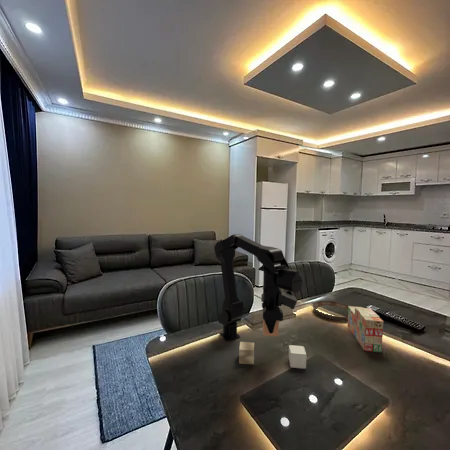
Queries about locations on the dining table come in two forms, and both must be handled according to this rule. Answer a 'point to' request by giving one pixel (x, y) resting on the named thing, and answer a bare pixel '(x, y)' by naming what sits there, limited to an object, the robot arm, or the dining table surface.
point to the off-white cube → (297, 356)
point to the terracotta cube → (275, 331)
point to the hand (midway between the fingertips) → (270, 329)
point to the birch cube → (246, 353)
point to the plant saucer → (330, 303)
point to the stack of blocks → (366, 328)
